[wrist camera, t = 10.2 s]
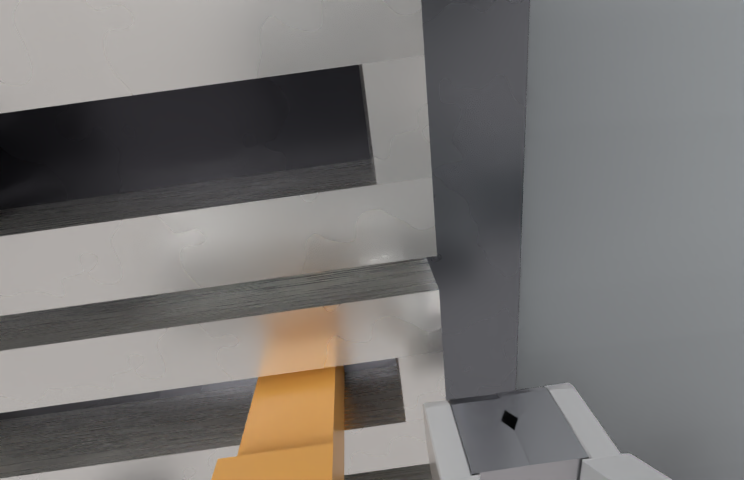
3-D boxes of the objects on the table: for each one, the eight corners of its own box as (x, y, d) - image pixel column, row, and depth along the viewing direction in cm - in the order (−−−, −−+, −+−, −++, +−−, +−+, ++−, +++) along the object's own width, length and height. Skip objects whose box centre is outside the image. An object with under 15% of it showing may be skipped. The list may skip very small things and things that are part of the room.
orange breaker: (337, 314, 10) (331, 488, 6) (350, 383, 11) (354, 574, 7) (259, 324, 10) (202, 506, 6) (280, 393, 11) (243, 589, 7)
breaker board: (495, -56, 9) (593, -127, 6) (493, 467, 17) (533, 581, 13) (-335, 57, 9) (-781, 59, 6) (38, 531, 17) (-47, 663, 13)
